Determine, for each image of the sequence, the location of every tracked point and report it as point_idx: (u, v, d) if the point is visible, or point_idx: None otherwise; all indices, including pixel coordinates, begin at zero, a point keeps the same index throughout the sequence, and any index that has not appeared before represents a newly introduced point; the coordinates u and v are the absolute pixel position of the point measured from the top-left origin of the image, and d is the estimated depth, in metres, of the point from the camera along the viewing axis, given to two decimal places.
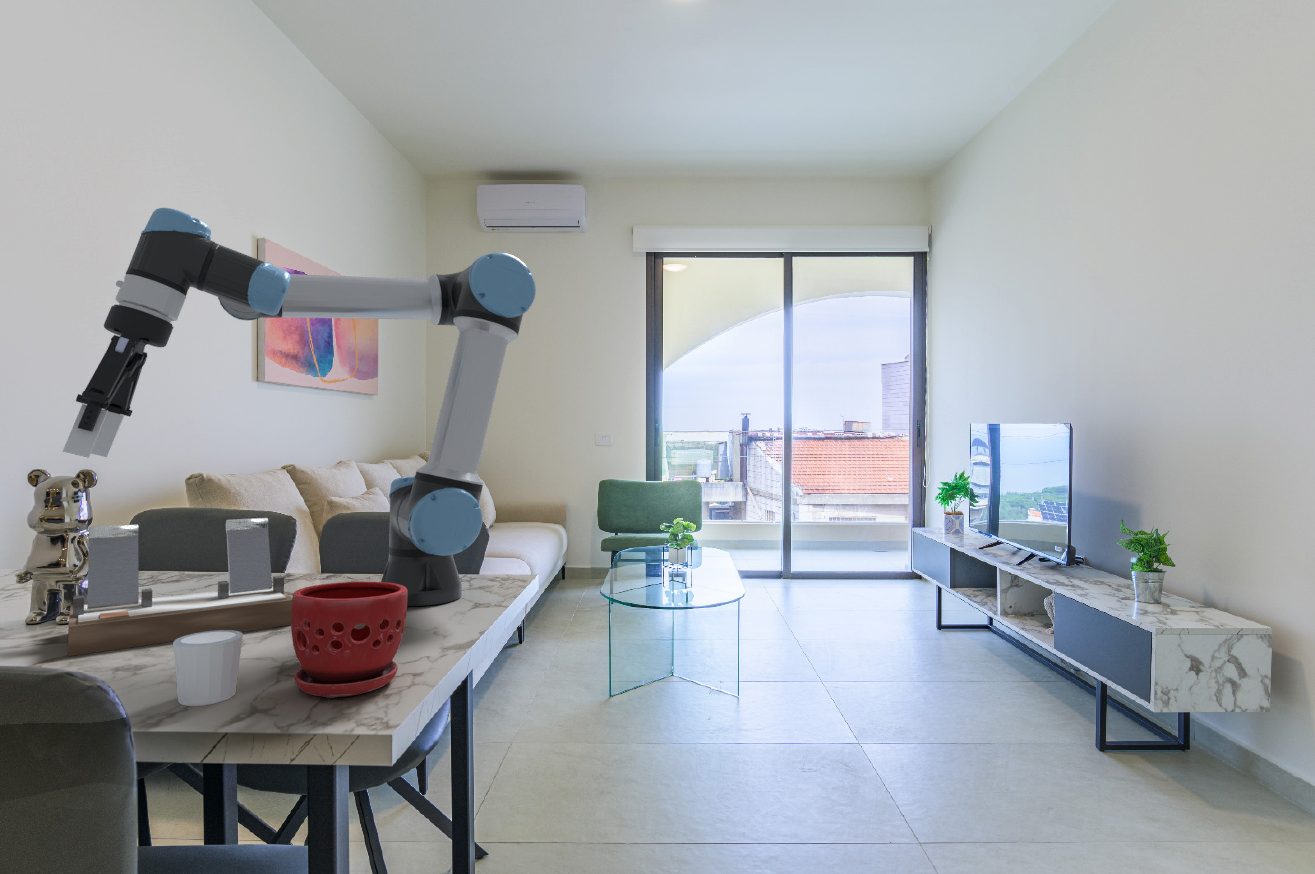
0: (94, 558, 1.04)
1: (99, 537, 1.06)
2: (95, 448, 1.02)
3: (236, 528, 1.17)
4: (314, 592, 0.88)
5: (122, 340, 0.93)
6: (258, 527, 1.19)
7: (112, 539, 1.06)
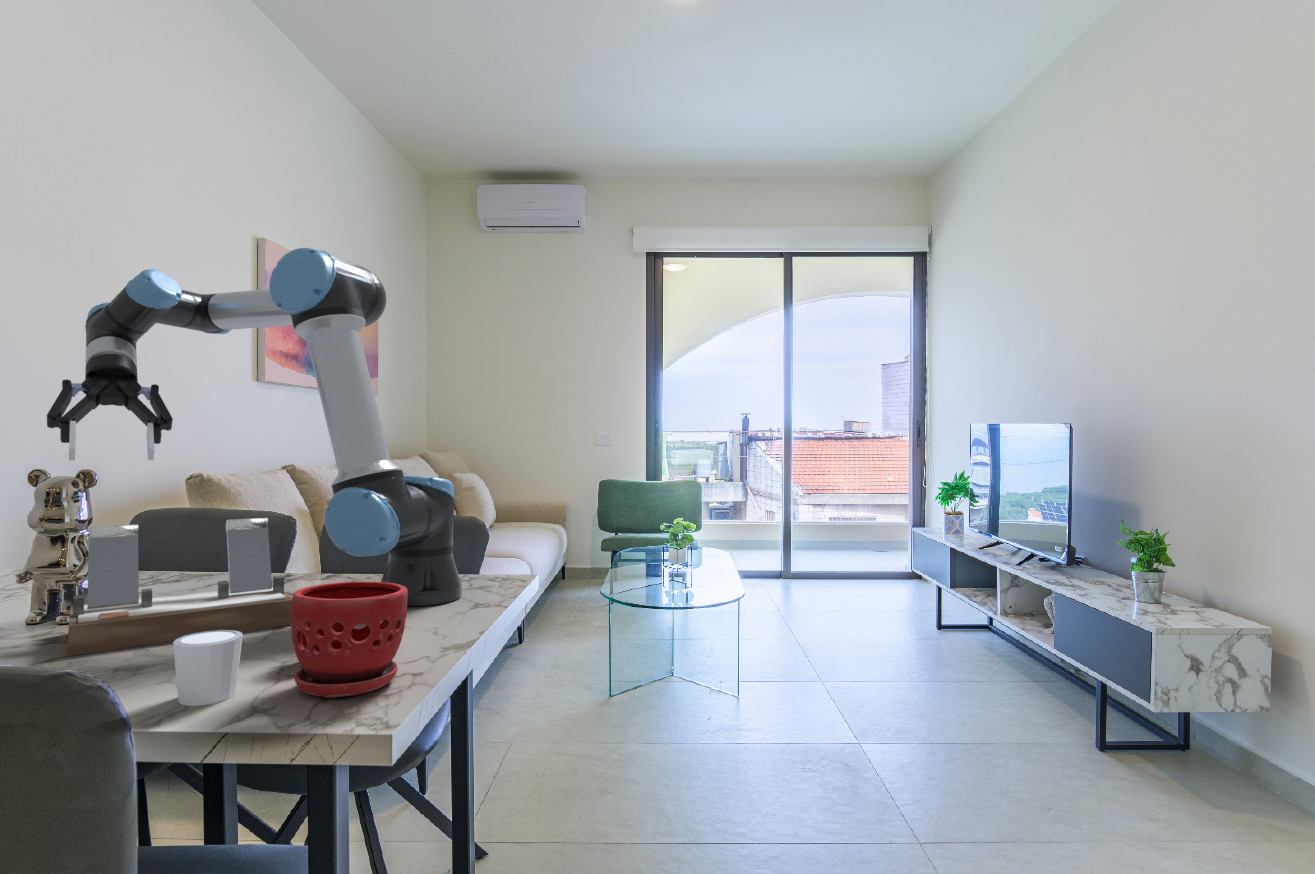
0: (94, 558, 1.04)
1: (99, 537, 1.06)
2: (148, 452, 1.20)
3: (236, 528, 1.17)
4: (314, 592, 0.88)
5: (62, 387, 1.21)
6: (258, 527, 1.19)
7: (112, 539, 1.06)
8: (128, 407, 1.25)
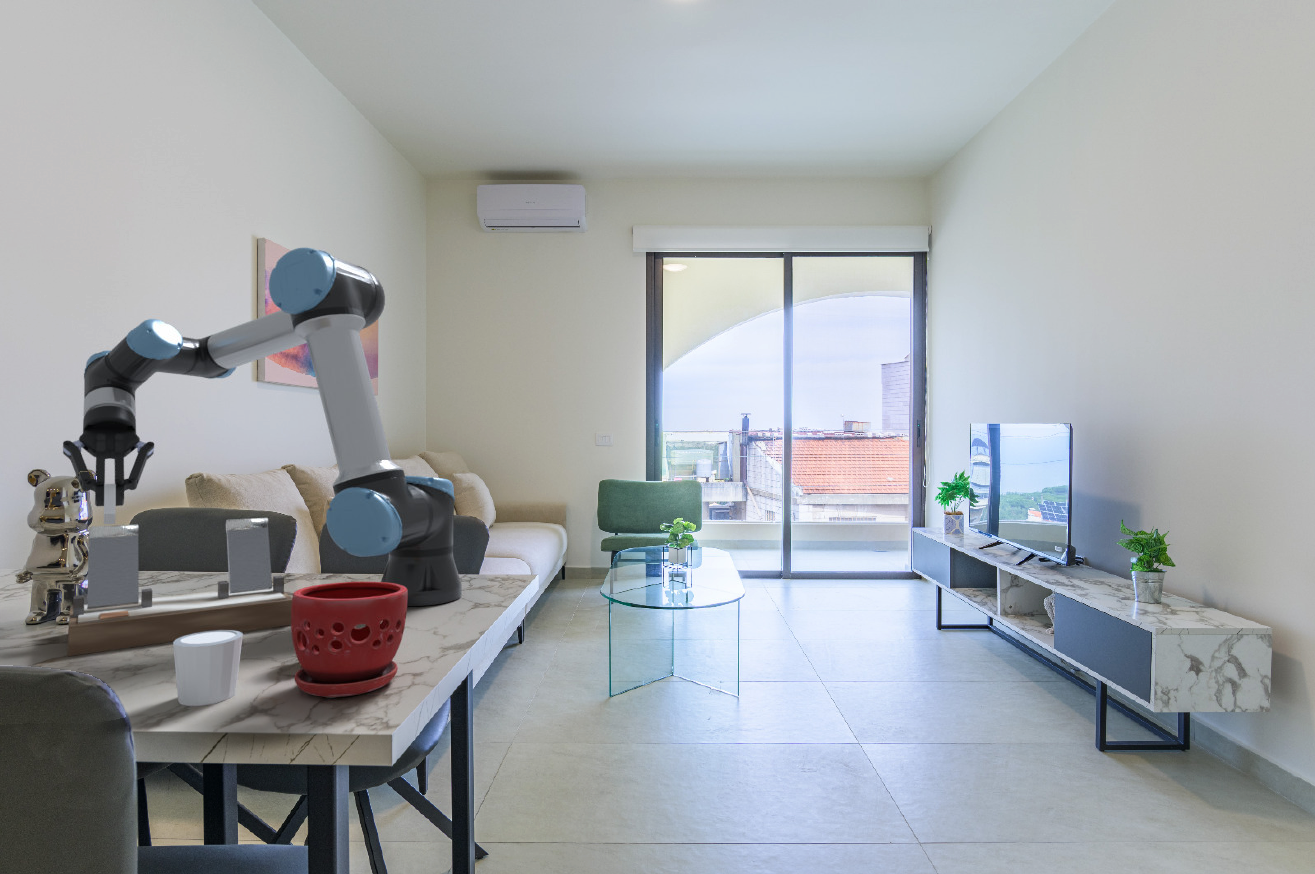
0: (94, 558, 1.04)
1: (99, 537, 1.06)
2: None
3: (236, 528, 1.17)
4: (314, 592, 0.88)
5: (63, 449, 1.19)
6: (258, 527, 1.19)
7: (112, 539, 1.06)
8: None
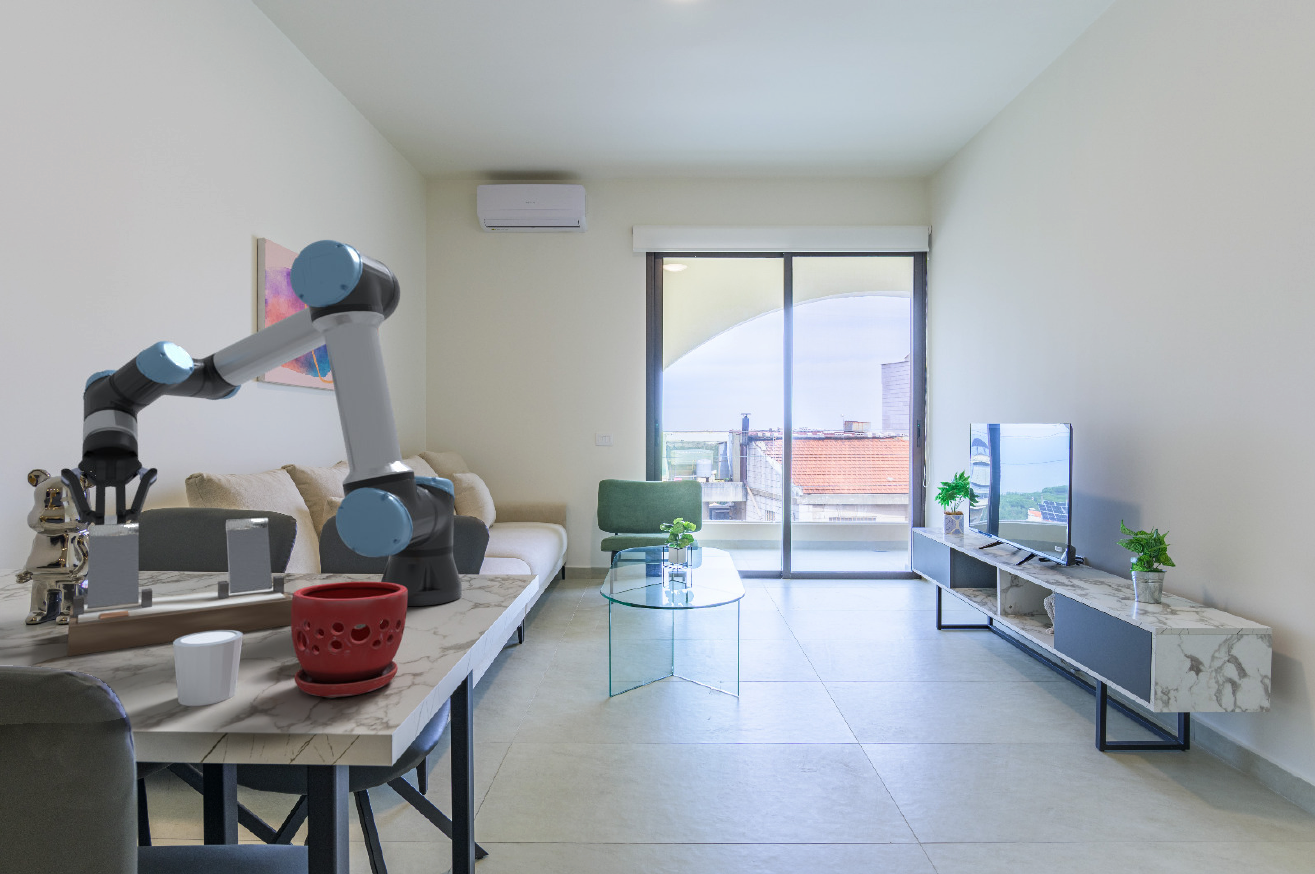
0: (94, 558, 1.04)
1: (99, 536, 1.05)
2: None
3: (236, 528, 1.17)
4: (314, 592, 0.88)
5: (61, 477, 1.12)
6: (258, 527, 1.19)
7: (112, 538, 1.06)
8: None
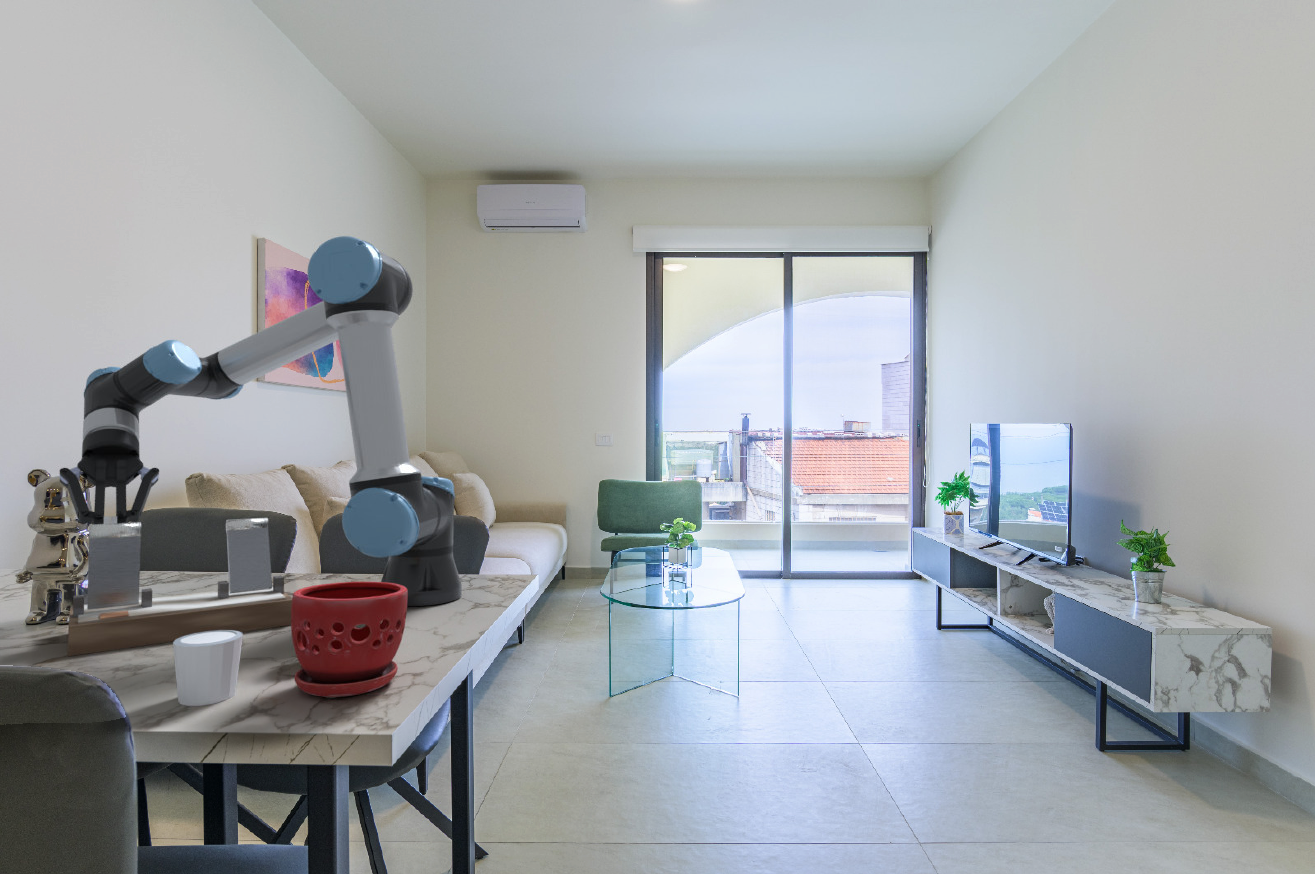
0: (94, 560, 1.01)
1: (100, 538, 1.01)
2: None
3: (236, 528, 1.17)
4: (314, 592, 0.88)
5: (60, 477, 1.08)
6: (258, 527, 1.19)
7: (113, 540, 1.02)
8: None
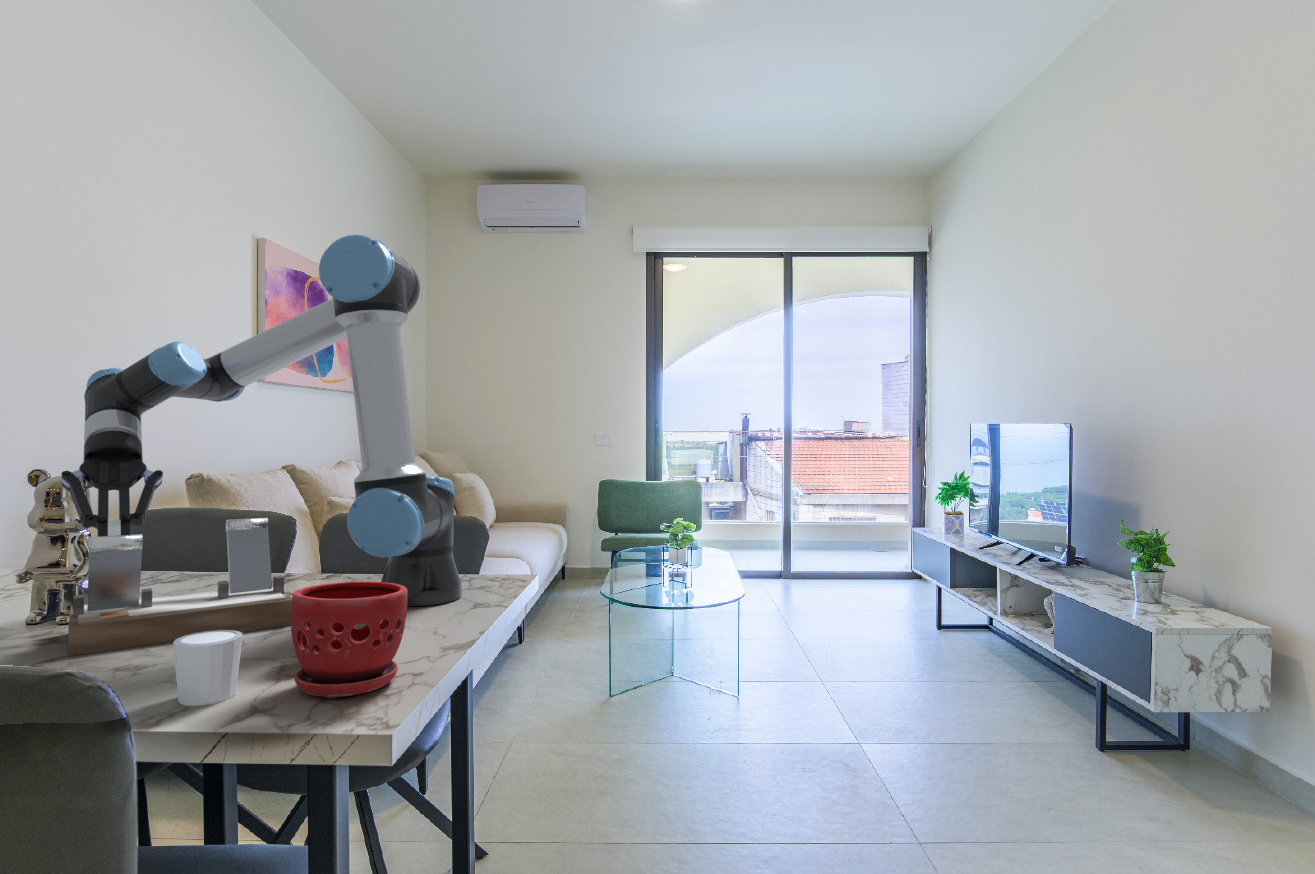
0: (94, 571, 0.99)
1: (100, 552, 0.98)
2: None
3: (236, 528, 1.17)
4: (314, 592, 0.88)
5: (62, 480, 1.06)
6: (258, 527, 1.19)
7: (114, 553, 0.99)
8: None
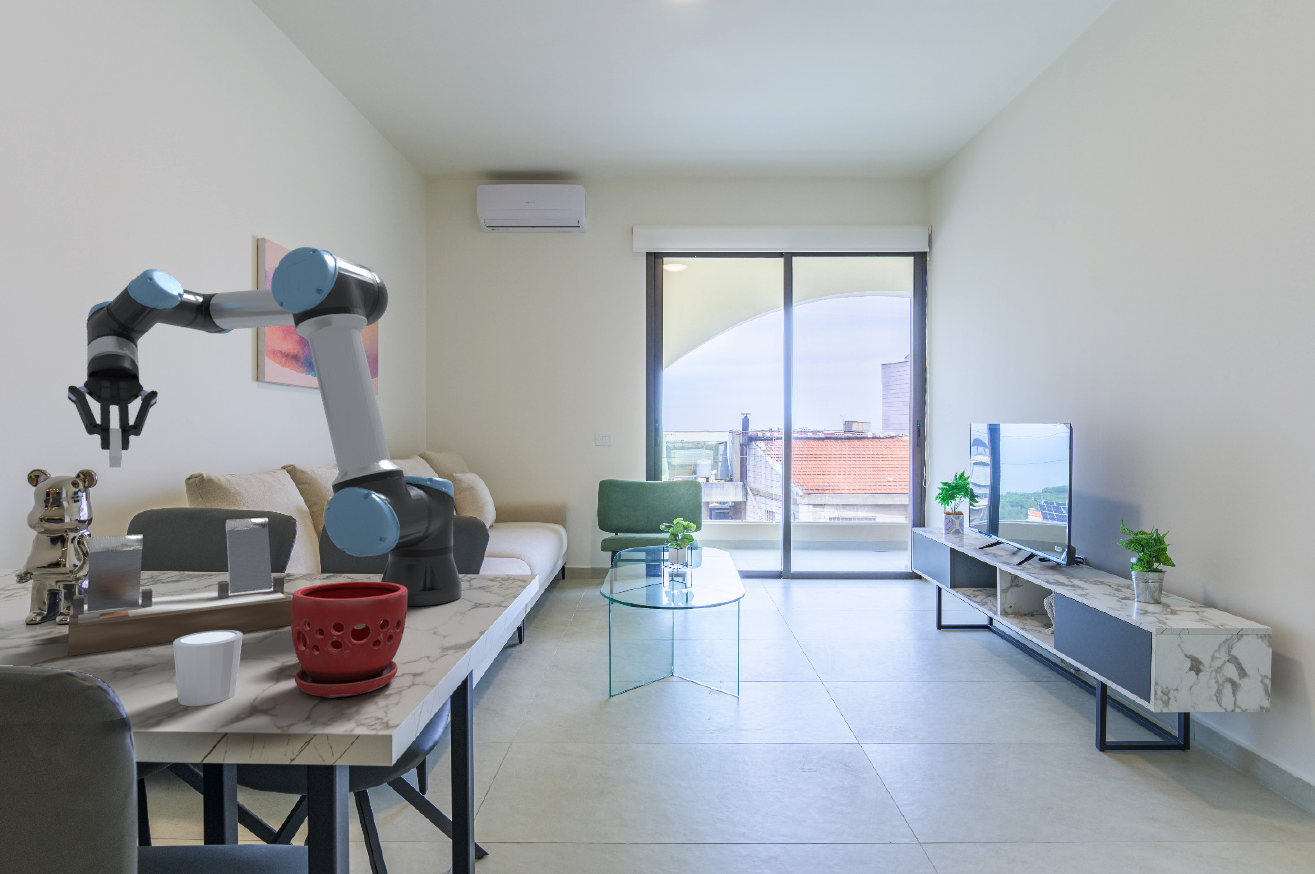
0: (94, 571, 0.99)
1: (100, 552, 0.98)
2: None
3: (236, 528, 1.17)
4: (314, 592, 0.88)
5: (68, 394, 1.20)
6: (258, 527, 1.19)
7: (114, 553, 0.99)
8: (118, 408, 1.24)
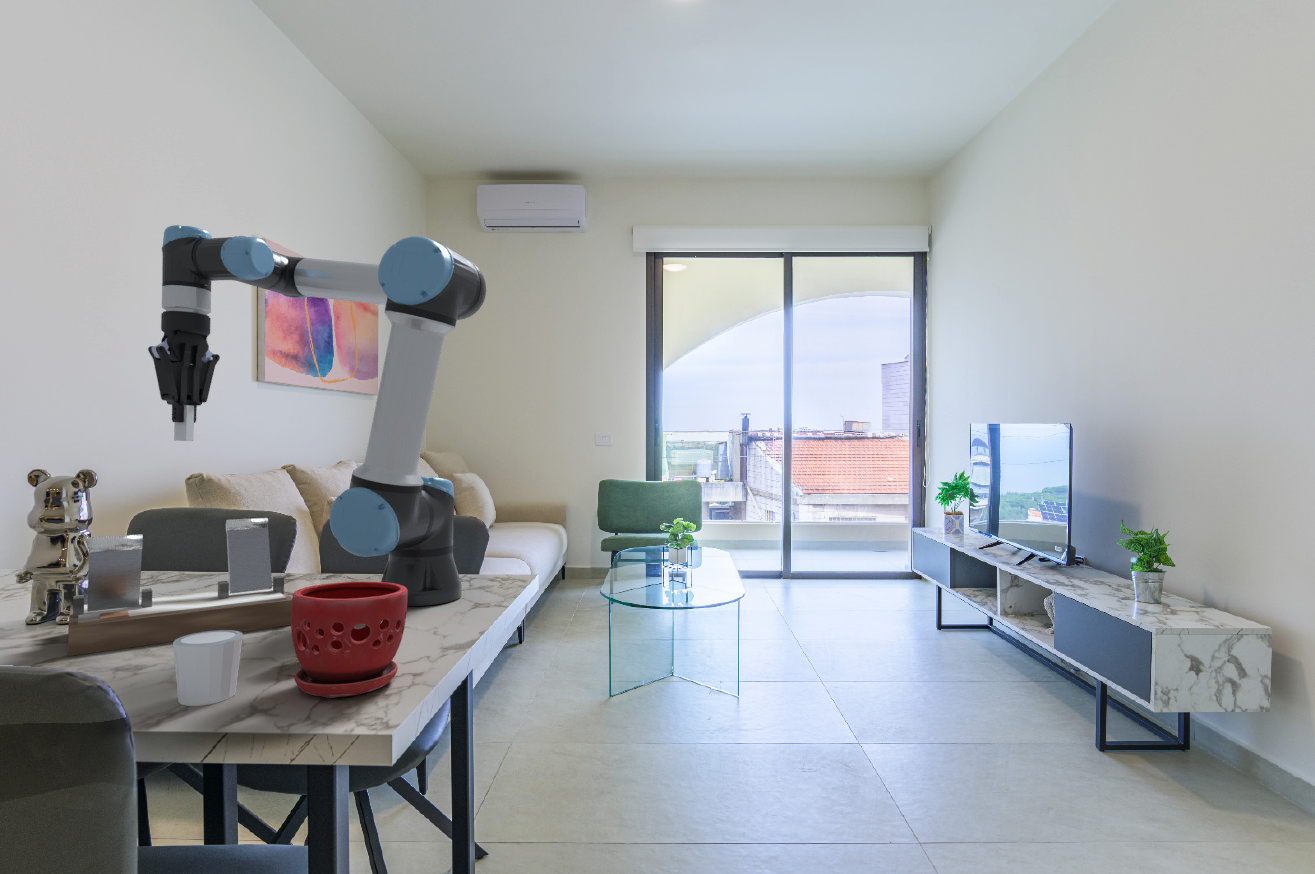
0: (94, 571, 0.99)
1: (100, 552, 0.98)
2: None
3: (236, 528, 1.17)
4: (314, 592, 0.88)
5: (153, 350, 1.22)
6: (258, 527, 1.19)
7: (114, 553, 0.99)
8: None
